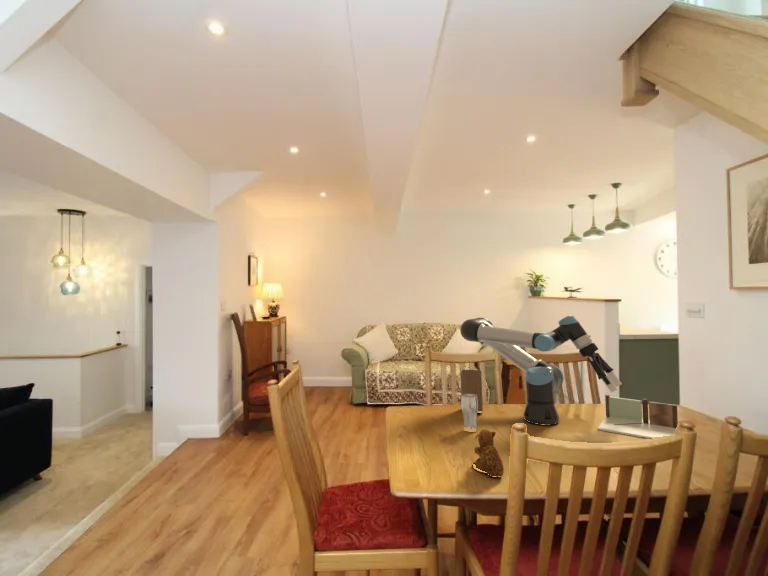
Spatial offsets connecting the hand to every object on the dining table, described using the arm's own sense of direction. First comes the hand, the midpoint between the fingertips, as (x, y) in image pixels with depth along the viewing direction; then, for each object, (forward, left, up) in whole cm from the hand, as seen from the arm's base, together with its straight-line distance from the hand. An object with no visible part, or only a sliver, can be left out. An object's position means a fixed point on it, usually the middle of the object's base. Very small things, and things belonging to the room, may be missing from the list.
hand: (616, 388), depth 171 cm
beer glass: (-49, -43, -16) cm, 67 cm away
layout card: (+8, 0, -16) cm, 18 cm away
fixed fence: (+15, +6, -16) cm, 22 cm away
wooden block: (-61, -18, -16) cm, 65 cm away
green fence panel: (+1, +6, -15) cm, 16 cm away
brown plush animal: (-25, -75, -16) cm, 81 cm away
